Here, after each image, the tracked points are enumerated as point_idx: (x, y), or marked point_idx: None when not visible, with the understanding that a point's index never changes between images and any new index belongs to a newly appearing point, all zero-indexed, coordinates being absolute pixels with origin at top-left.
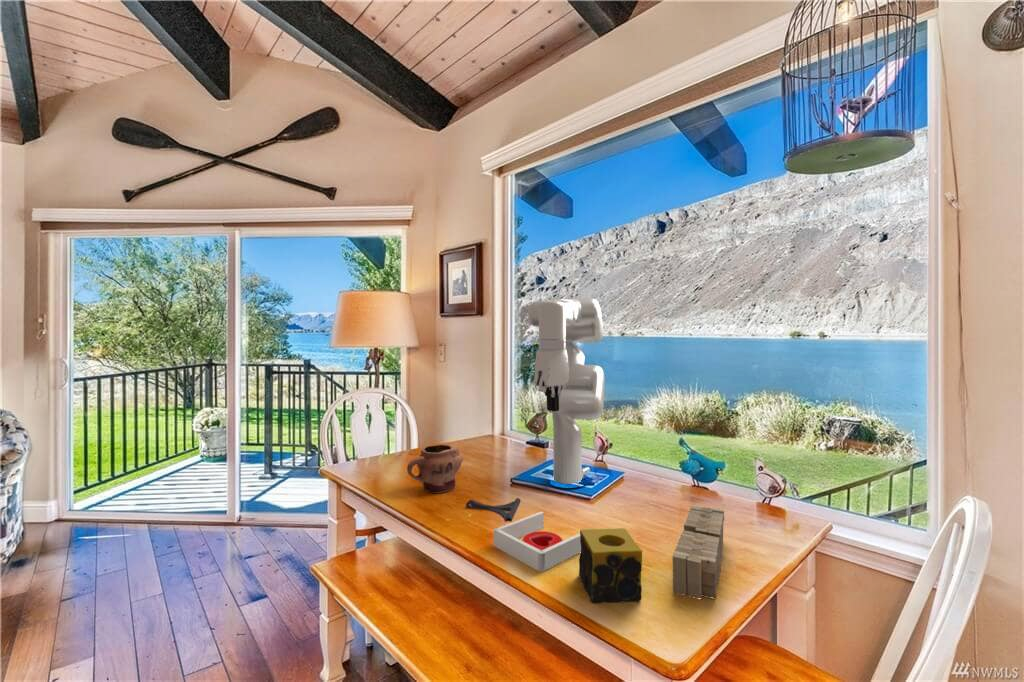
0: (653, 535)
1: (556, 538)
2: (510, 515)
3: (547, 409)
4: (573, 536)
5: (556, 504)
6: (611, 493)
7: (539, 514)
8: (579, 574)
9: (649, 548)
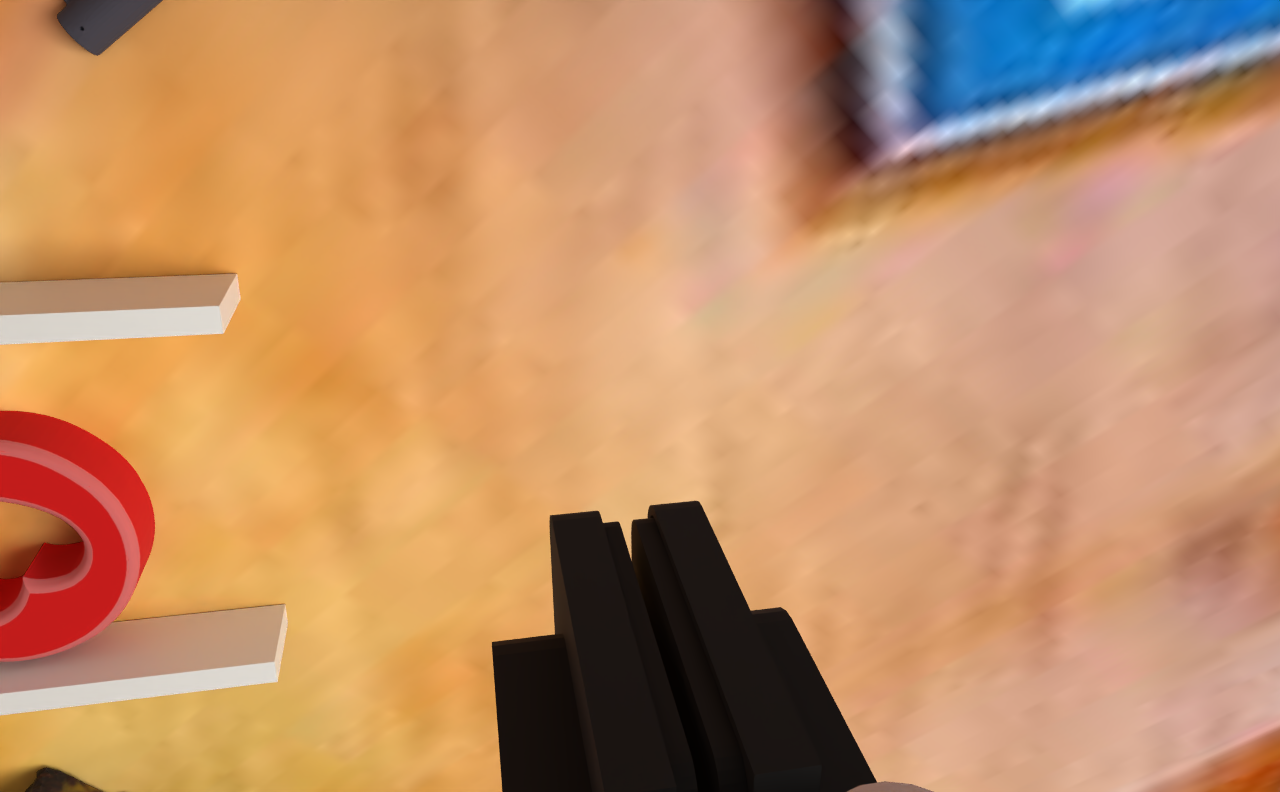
0: None
1: (88, 591)
2: (104, 19)
3: (550, 532)
4: (149, 680)
5: (611, 60)
6: (1047, 192)
7: (176, 335)
8: (33, 783)
9: None
